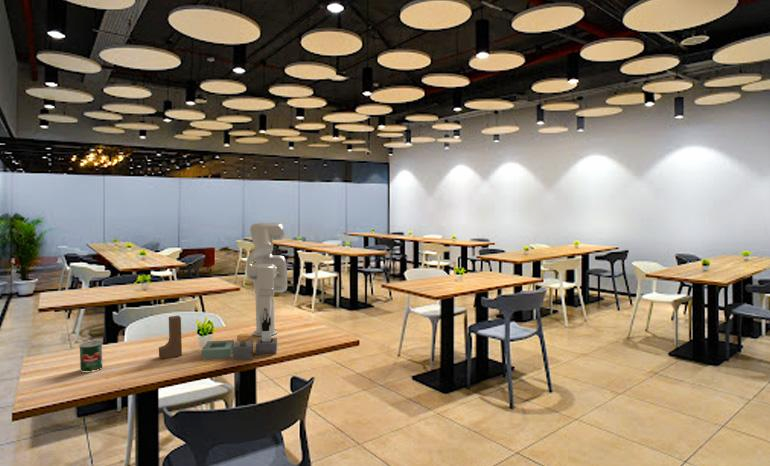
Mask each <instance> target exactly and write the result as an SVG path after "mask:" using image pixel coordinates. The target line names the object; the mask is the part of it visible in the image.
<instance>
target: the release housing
mask: <svg viewBox="0 0 770 466" xmlns="http://www.w3.org/2000/svg"><path fill="white" fill-rule="evenodd" d="M253 356H254V341H253V340H247V341H246V345H241V344H240V341H234V345H233V352H232V360H233V361H244V360H247V361H248V360H252V359H253Z"/></svg>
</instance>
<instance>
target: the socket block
mask: <svg viewBox="0 0 770 466" xmlns="http://www.w3.org/2000/svg"><path fill="white" fill-rule="evenodd" d="M277 350H278V338H277V337H271V343H262V338H257V340H256V343H255V355H256V356H263V355H277V352H278V351H277Z"/></svg>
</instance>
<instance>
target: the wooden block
mask: <svg viewBox="0 0 770 466" xmlns="http://www.w3.org/2000/svg"><path fill="white" fill-rule="evenodd" d="M182 344H183V343H182V317H181V316H180V315H171V316H168V341H167V342H166V344H165V345H162V346H159V347H158V357H159V358H160V359H161V360H164V358H165V359H169V357H170V358H174V357H175V356H176V357H182V355H183V349H182V348H183V347H182Z"/></svg>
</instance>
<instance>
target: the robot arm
mask: <svg viewBox="0 0 770 466" xmlns="http://www.w3.org/2000/svg"><path fill="white" fill-rule="evenodd" d="M249 231H250V238H251V240H252V242H253V245H254V249H253V250H252V251H251V252H250V253H249V254H248V256H247V259H246V277H247V278H248V279H249V280H251V281H253V288H254V296H255V329H256V330H253V336H256V337H262V331H269V325H271V337H272V336H274V335H277V334H278V329H276V328H275V300H274V298H273V296H275V293H284V292H286V291H287V290H288V268H287V260H286V257H285V256H283V255H279V254H278V255H277V254H276V255H275V254H274V255H273V251H274V243H273V242H274V241H282V240H283V239H284V238H285V227H284V224H283V223H281V222H257V223H253V224H251V225H250V228H249ZM254 263H255V264H254Z"/></svg>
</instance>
